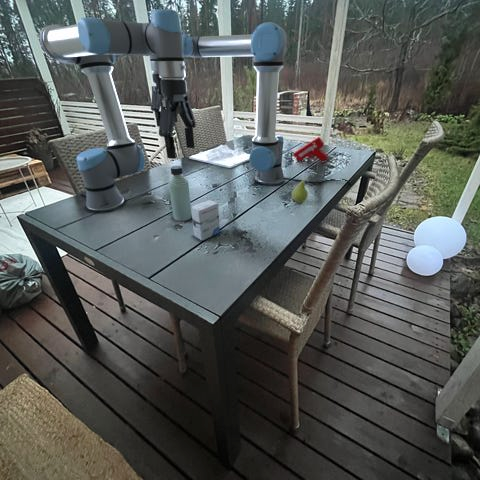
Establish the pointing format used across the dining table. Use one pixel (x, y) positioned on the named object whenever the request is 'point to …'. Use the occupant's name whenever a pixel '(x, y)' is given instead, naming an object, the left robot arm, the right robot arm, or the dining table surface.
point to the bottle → (180, 198)
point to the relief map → (222, 156)
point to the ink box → (205, 219)
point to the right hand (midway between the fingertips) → (167, 124)
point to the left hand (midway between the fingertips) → (181, 152)
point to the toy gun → (312, 151)
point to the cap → (176, 170)
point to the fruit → (300, 192)
